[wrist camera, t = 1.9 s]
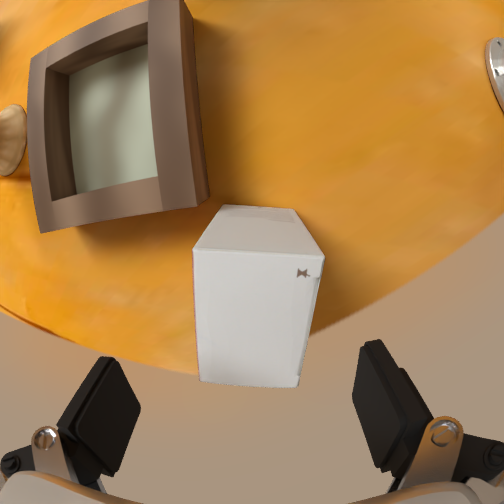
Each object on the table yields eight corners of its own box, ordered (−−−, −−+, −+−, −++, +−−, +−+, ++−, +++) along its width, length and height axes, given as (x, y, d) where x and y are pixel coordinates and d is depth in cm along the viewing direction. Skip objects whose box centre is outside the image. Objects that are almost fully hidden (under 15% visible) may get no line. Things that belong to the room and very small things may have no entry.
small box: (222, 202, 21) (189, 242, 11) (295, 207, 21) (328, 252, 11) (219, 296, 23) (196, 384, 13) (284, 300, 23) (298, 391, 13)
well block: (192, 17, 15) (179, -9, 11) (209, 196, 21) (197, 206, 16) (59, 67, 16) (31, 58, 12) (70, 220, 21) (40, 233, 17)
